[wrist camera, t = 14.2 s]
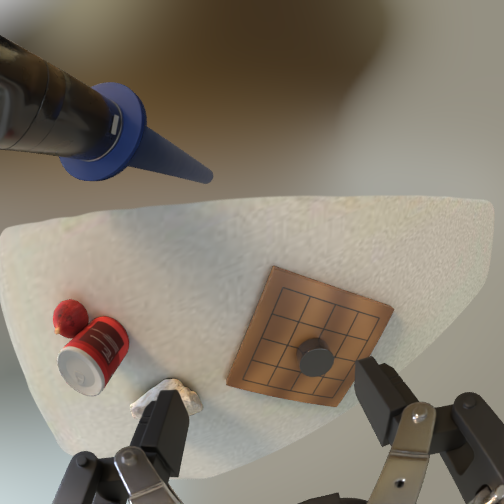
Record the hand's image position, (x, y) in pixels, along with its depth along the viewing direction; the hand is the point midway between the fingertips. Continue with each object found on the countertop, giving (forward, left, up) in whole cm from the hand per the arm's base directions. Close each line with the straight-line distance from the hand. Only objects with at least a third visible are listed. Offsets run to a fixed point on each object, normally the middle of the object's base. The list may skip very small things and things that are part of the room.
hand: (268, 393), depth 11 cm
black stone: (+13, -10, -24) cm, 30 cm away
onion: (-23, -17, -26) cm, 38 cm away
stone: (-5, -28, -26) cm, 39 cm away
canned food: (-17, -20, -26) cm, 37 cm away
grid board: (+13, -10, -26) cm, 31 cm away
